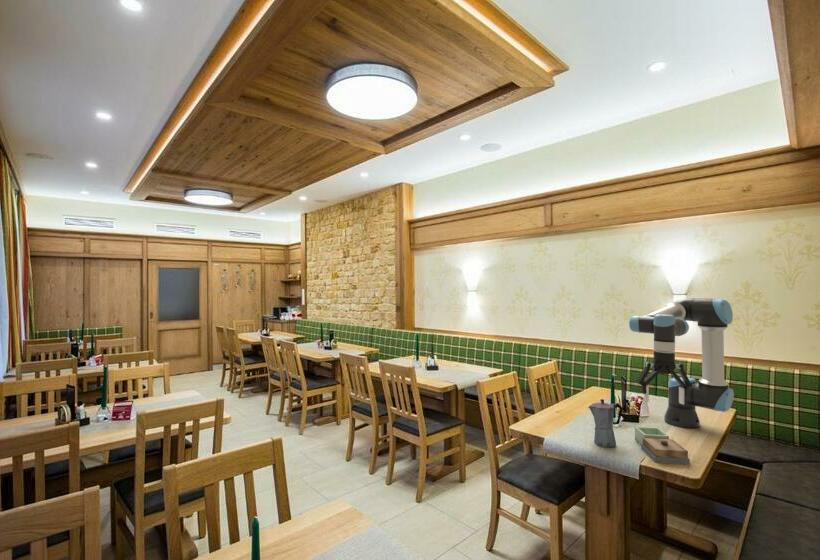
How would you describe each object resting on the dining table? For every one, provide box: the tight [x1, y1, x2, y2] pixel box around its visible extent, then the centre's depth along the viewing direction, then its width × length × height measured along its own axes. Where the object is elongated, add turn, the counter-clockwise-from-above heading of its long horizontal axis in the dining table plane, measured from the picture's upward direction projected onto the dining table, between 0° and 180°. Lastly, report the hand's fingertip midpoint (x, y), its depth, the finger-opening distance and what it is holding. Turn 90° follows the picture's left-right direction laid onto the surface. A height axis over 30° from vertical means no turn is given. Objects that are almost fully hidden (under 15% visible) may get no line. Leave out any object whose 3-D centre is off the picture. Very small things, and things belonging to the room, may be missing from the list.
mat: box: [640, 444, 691, 465], centre depth 167 cm, size 13×13×2 cm
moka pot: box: [587, 398, 624, 448], centre depth 180 cm, size 10×15×20 cm, turn 95°
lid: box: [643, 438, 689, 459], centre depth 167 cm, size 12×12×4 cm
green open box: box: [634, 426, 670, 446], centre depth 179 cm, size 10×10×6 cm
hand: (663, 402), depth 167 cm, fingers open, 13 cm apart
